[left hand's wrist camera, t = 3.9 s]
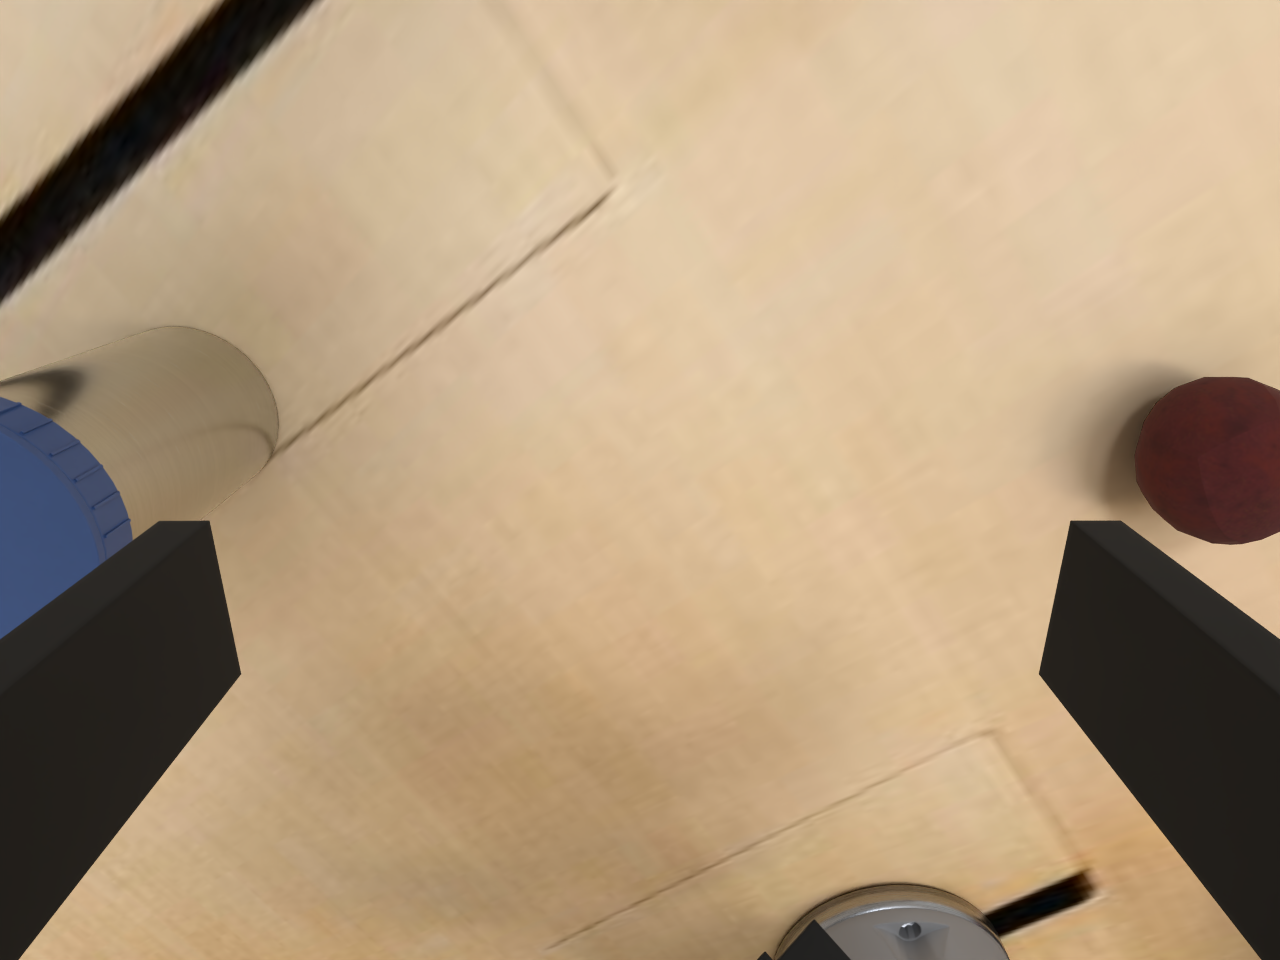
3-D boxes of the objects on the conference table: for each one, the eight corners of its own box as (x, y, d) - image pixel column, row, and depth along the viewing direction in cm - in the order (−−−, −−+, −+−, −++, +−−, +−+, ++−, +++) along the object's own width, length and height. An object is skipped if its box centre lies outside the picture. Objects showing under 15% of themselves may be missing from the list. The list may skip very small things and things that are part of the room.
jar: (209, 295, 39) (-32, 370, 25) (312, 448, 41) (147, 592, 28) (68, 373, 40) (-236, 485, 26) (176, 516, 43) (-46, 686, 29)
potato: (1137, 530, 43) (1227, 597, 36) (1079, 411, 41) (1163, 459, 34) (1276, 456, 41) (1396, 512, 35) (1224, 329, 39) (1342, 362, 33)
